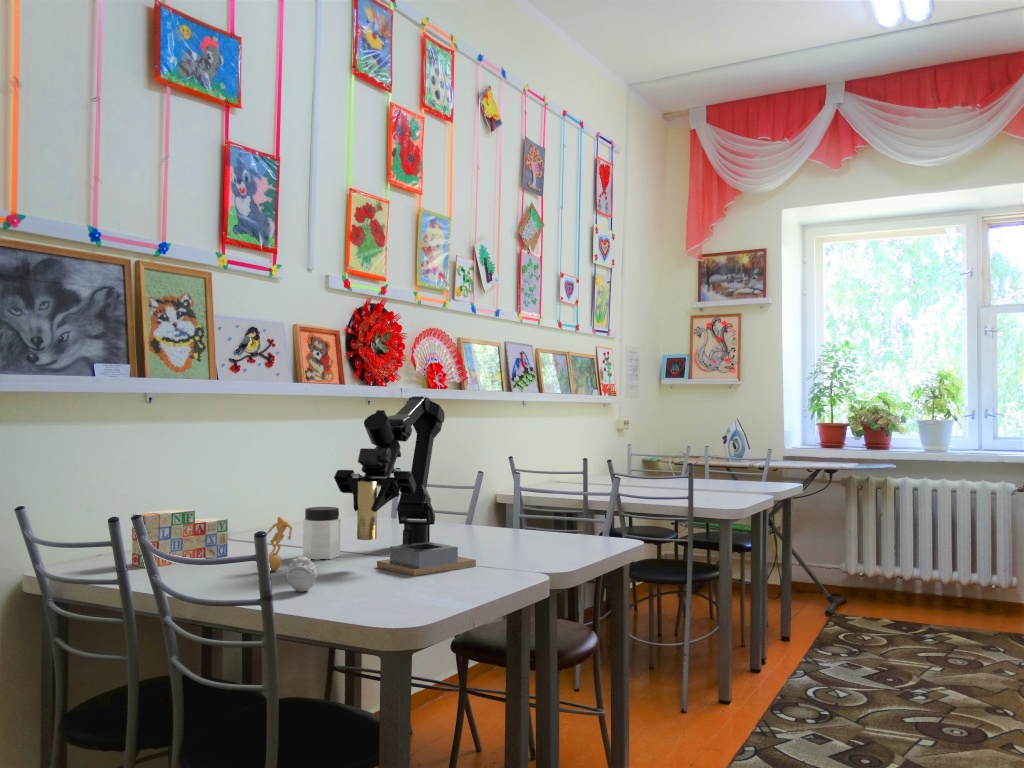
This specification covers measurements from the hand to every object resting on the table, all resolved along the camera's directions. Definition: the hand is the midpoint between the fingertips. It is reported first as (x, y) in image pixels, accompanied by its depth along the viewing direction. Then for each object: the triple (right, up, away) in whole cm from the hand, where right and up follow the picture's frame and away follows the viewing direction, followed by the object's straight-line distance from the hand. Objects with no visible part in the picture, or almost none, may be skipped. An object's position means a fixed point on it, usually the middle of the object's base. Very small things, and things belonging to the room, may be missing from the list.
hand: (364, 510), depth 190 cm
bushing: (0, -7, +1) cm, 7 cm away
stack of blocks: (-46, -14, +10) cm, 49 cm away
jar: (-14, -14, +16) cm, 26 cm away
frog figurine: (-8, -13, -24) cm, 28 cm away
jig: (+14, -14, +4) cm, 20 cm away
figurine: (-20, -14, -2) cm, 24 cm away
